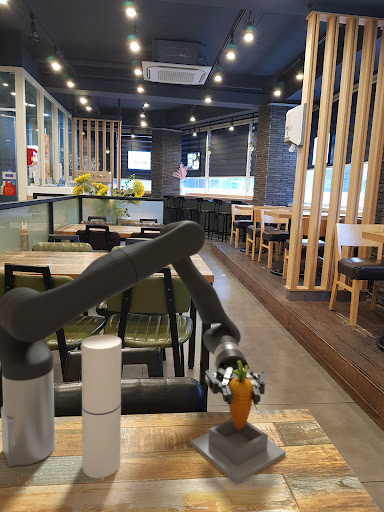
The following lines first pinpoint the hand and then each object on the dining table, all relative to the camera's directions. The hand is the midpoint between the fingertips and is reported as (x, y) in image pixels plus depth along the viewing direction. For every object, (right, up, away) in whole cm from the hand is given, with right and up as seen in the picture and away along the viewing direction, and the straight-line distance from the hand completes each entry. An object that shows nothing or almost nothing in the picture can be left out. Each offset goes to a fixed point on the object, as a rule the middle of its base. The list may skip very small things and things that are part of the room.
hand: (243, 400), depth 73 cm
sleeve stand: (-1, -12, +4) cm, 13 cm away
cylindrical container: (-28, -12, -2) cm, 30 cm away
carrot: (0, -8, +4) cm, 9 cm away
